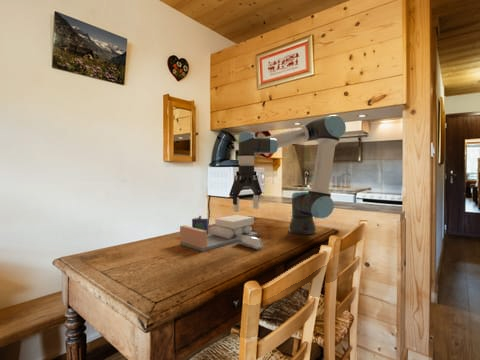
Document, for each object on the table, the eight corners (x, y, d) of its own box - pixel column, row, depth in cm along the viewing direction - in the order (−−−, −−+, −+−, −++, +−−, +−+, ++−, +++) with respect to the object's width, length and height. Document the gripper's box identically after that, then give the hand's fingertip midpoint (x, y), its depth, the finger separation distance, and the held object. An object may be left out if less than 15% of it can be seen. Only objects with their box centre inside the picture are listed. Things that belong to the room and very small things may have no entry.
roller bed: (258, 235, 148) (258, 219, 147) (202, 251, 121) (202, 231, 120) (235, 230, 160) (235, 215, 160) (180, 244, 133) (179, 226, 133)
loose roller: (263, 247, 125) (262, 237, 124) (256, 251, 122) (255, 240, 121) (243, 242, 134) (242, 232, 133) (236, 245, 131) (235, 236, 130)
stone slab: (254, 223, 148) (254, 217, 148) (233, 228, 137) (233, 221, 137) (236, 220, 158) (236, 214, 158) (215, 225, 147) (215, 218, 146)
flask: (208, 233, 154) (208, 215, 154) (207, 235, 151) (207, 216, 151) (192, 233, 155) (192, 215, 154) (191, 235, 152) (191, 216, 151)
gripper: (257, 165, 139) (257, 206, 139) (221, 165, 121) (221, 212, 122) (269, 165, 133) (269, 208, 134) (233, 164, 116) (233, 214, 116)
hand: (246, 210), depth 128 cm, fingers open, 13 cm apart
